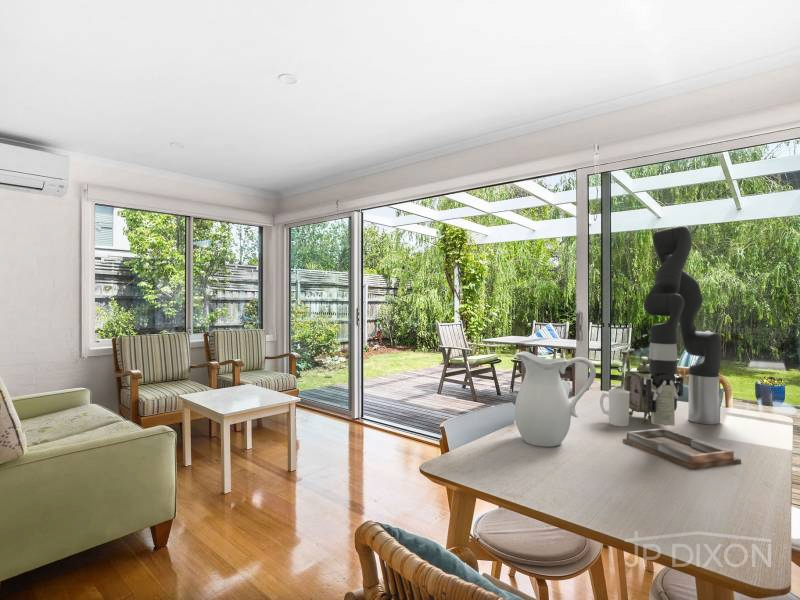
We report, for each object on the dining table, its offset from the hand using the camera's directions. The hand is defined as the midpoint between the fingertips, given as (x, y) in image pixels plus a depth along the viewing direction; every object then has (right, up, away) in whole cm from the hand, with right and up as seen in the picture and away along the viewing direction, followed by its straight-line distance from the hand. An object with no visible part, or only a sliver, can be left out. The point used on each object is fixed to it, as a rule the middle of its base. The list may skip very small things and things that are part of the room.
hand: (662, 410), depth 140 cm
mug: (-3, -11, +25) cm, 27 cm away
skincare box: (0, -4, 0) cm, 4 cm away
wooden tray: (+2, -11, -5) cm, 12 cm away
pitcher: (-33, -11, +2) cm, 35 cm away
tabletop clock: (+11, -11, +30) cm, 34 cm away
